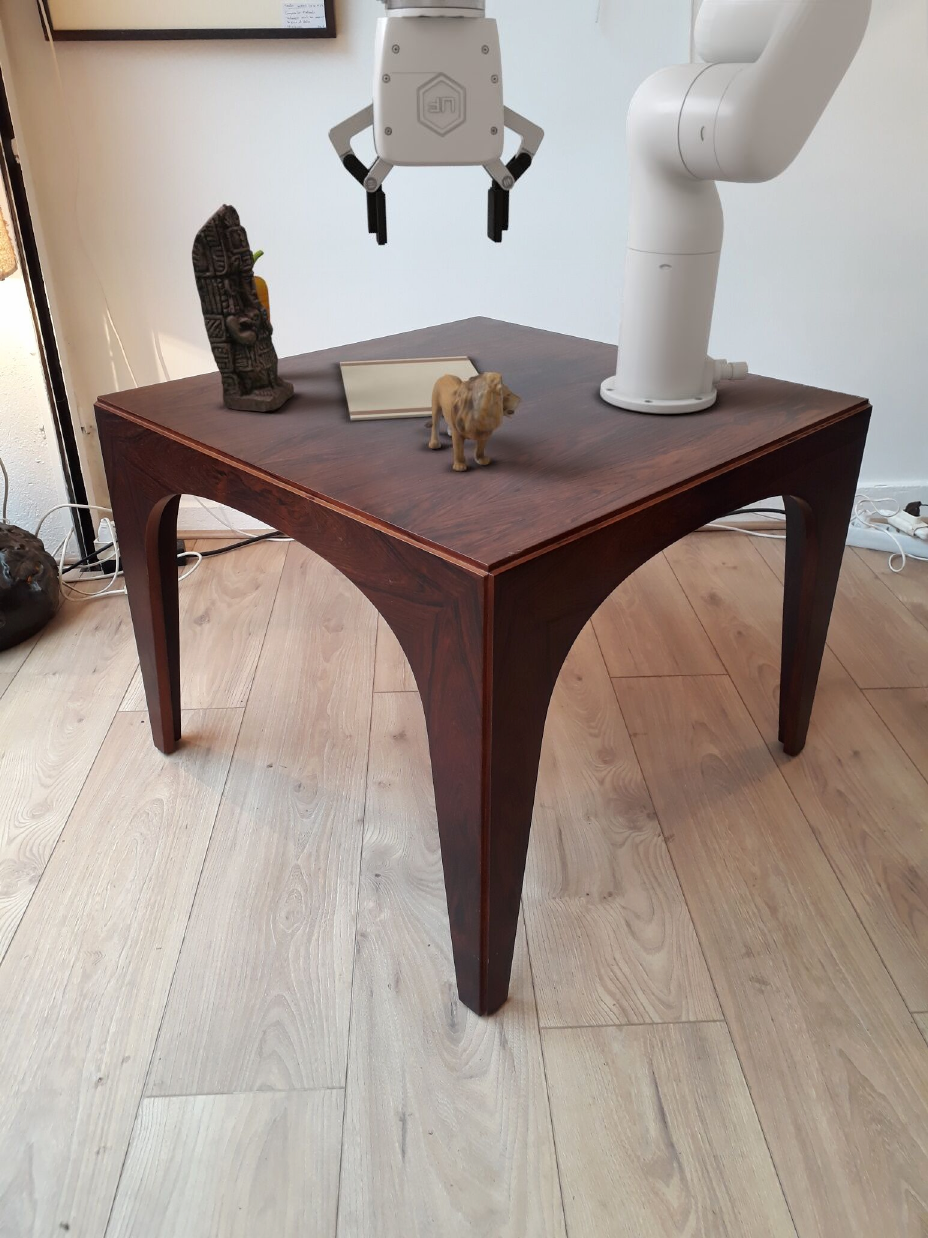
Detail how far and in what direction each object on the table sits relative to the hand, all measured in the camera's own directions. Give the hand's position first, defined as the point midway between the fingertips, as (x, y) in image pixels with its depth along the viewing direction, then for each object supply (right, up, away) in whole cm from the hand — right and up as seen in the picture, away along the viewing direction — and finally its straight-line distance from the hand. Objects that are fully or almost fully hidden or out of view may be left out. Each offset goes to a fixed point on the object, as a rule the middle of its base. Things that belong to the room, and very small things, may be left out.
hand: (438, 241), depth 77 cm
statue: (-21, -8, +23) cm, 32 cm away
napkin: (-3, -5, +28) cm, 29 cm away
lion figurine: (+2, -17, +9) cm, 19 cm away
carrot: (-22, -3, +31) cm, 39 cm away
